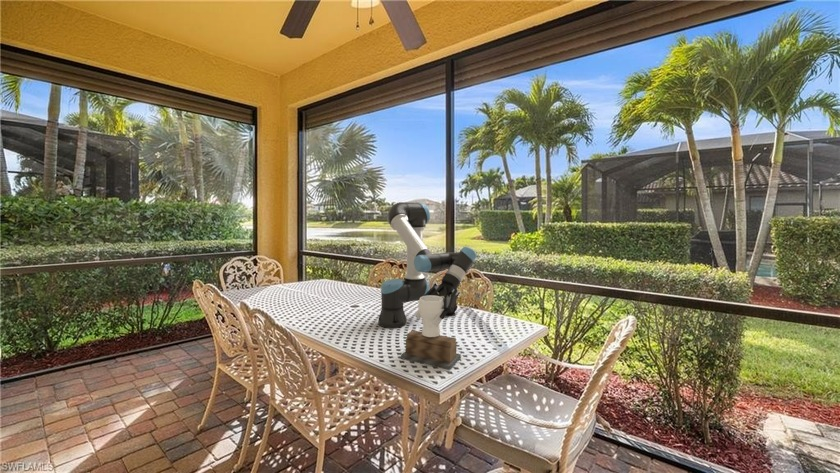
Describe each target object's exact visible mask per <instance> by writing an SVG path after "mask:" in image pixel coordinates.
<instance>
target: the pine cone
mask: <svg viewBox="0 0 840 473" xmlns="http://www.w3.org/2000/svg"><path fill="white" fill-rule="evenodd" d="M442 298H443V302H444V297H442ZM458 308H459V307H458V303H457V302H456V303H455V306H454V310H453V312H452V313H451V312H448V313H447V314H446V316H447V317H448V316H449V317H451V316H454V315H455V316H456V312H457V310H458ZM446 316H445V317H446Z"/></svg>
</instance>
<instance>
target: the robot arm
mask: <svg viewBox="0 0 840 473" xmlns="http://www.w3.org/2000/svg"><path fill="white" fill-rule="evenodd" d="M430 219H431V211H430V209H429V207H428V205H427V204H426V203H424V202H418V201H416V202H414V201H413V202H410V201H409V202H406V201H405V202H401V201H400V202H399V201H398V202H396V203H394V204H392V206H390V208H389V210H388V212H387V221H388V224H389V226H390V228H391V229H393V230H395V231H396V232H397V234H398V235H399V237H400V238H401V240H402V241H403V243H404V244H405V246H406V274H404V276H403V279H402V278H390V279H387V280H384V281H383V282H382V283H381V289H380V293H381V294H380V296H381V297H380V298H381V300H380V301H381V311H380V312H379V317H378V320H377V321H378V322H377V323H378V326H380V327H381V328H386V329H396V328H401V327H405V326H406V325H407V324H408V323H407V316H406V313H405V310H404V303H410V302H415V301H417V302H419V299H420V297H422V296H427V295H434V296H440V297H443V298H444V308H443V309H444V310H443V309H441V310H440V312H439V314H438V315H437V317H436V318H435V320H434V321H433V323H434V324H435V325H436V326H437V327H438V325H439V326H440V324H441V322H442V320H444V319H445V318H446V314H447V313H448V312H451V313H452V312H453V310H454V306H455V303H457V300H458V297H459V295H460V291H459V290H458V288H459V286H460V285H461V282H462V281H463V279H464V278H465V277H466V275H467V274H468V272H469V271H470V268H471V267H472V265H473V264H474V263H475V260H476V259H477V256H478V254H477V252H476V251H475V250H474V249H473V248H471V247H469V246H463V247H462V248H461V249H460V251H459V252H457V251H456V252H451V251H449V252H448V251H447V252H442V253H439V252H438V253H432V252H431V250H429V248H428V247H427V245H426V244H425V243H424V241H423V240H424V239H423V238H424V236H423V234H424V233H423V231H424V230H425V228H426V225H427V224H428V223H429V222H430ZM442 270H443V271H444V270H447V271H446V273H445V274H444V276H443V277H442V279H441V282H440V284H437V283H434V284H433V286H432V287H431V288H430V284H429V281H428V279H427V278H426V275H424V272H425V273H427V272H433V271H435V272H436V271H442ZM414 316H415V318H417V319H418V320H420V319H422V318H421V316H420V313H419V310H417V311H416V312H415V314H414Z"/></svg>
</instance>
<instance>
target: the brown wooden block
mask: <svg viewBox="0 0 840 473" xmlns="http://www.w3.org/2000/svg"><path fill="white" fill-rule="evenodd" d="M461 358H462V355H461V353H458V352H457V338H456V337H451V336H447V335H446V336H445V335H441V334H440V335H439V336H436V337H426V336H423V335H422V331H419V330H413V329H412V330H410V331H409V332H408V333H407V334H406V338H405V351H404V352H403V353H401V355H400V360H401V359H402V360H406V361H409V362H415V363H419V364H422V365H423V364H424V365H426V366H427V365H428V366H432V367H436V368H441V369H445V370H448V371H449V370H451V369H452V368H454V366H455V365H456V364H457V363H458V362H459V360H460V359H461Z"/></svg>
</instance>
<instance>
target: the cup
mask: <svg viewBox="0 0 840 473" xmlns="http://www.w3.org/2000/svg"><path fill="white" fill-rule="evenodd" d="M443 298H444V297H443V296H434V295H427V296H422V297H420V299H419V301H418V305H417V308H418V310H419V313H420V316H421V318H420V319H421V320H422V330H421V332H422V335H423V336H426V337H436V336H439V335H441V328H440V324H439V325H438V327H437V326H436V325H435V324H434V323H433V321H434V320H435V318H436V317H437V315H438V314H439V312H440V310H441V309H443V308H444V302H443ZM418 310H417V311H418ZM443 310H444V309H443Z"/></svg>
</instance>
